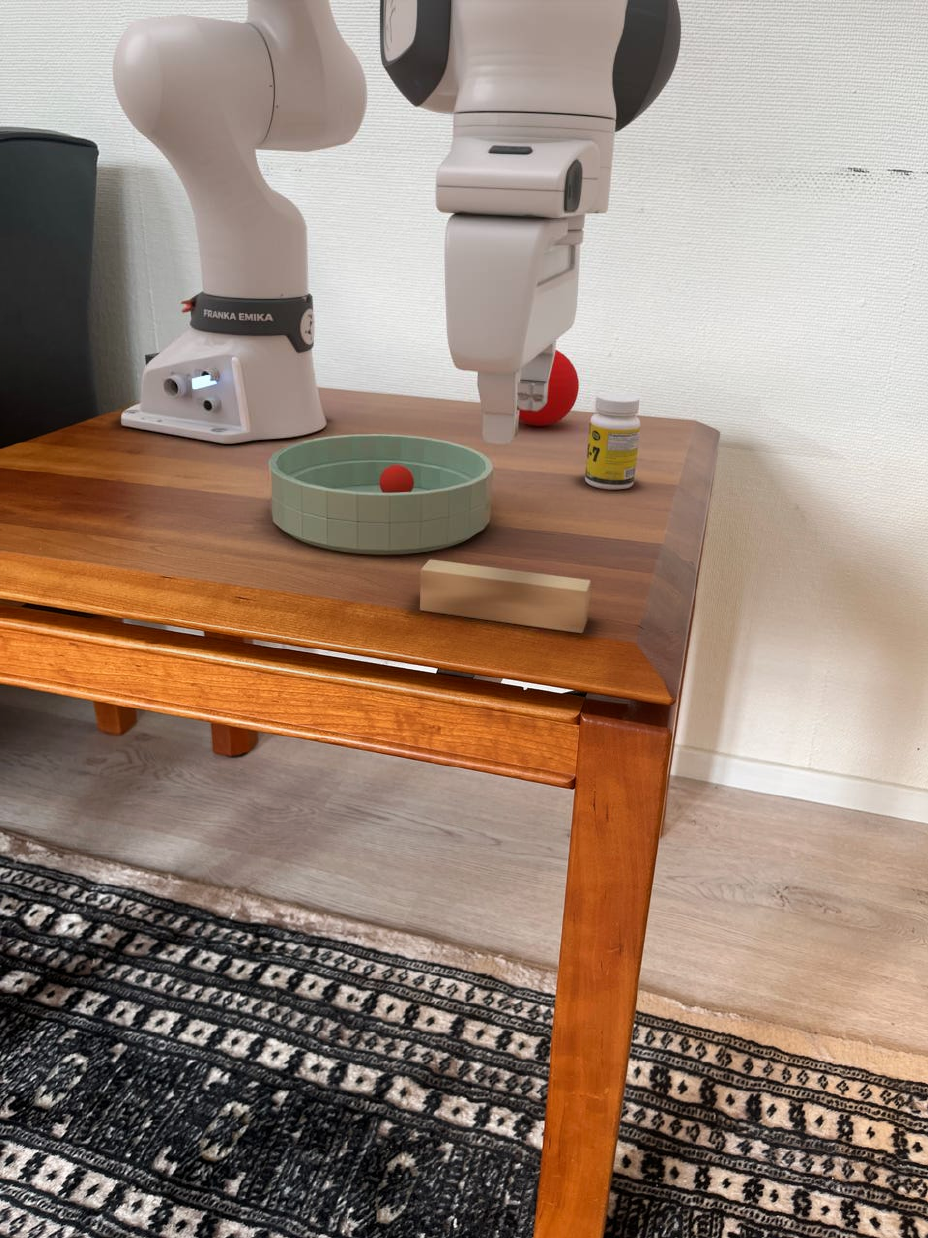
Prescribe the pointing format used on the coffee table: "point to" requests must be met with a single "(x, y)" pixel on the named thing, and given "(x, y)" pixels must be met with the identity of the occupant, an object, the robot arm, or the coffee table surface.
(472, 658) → the coffee table surface
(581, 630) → the block
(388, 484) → the ball
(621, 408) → the supplement bottle
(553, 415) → the ornament
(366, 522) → the bowl
